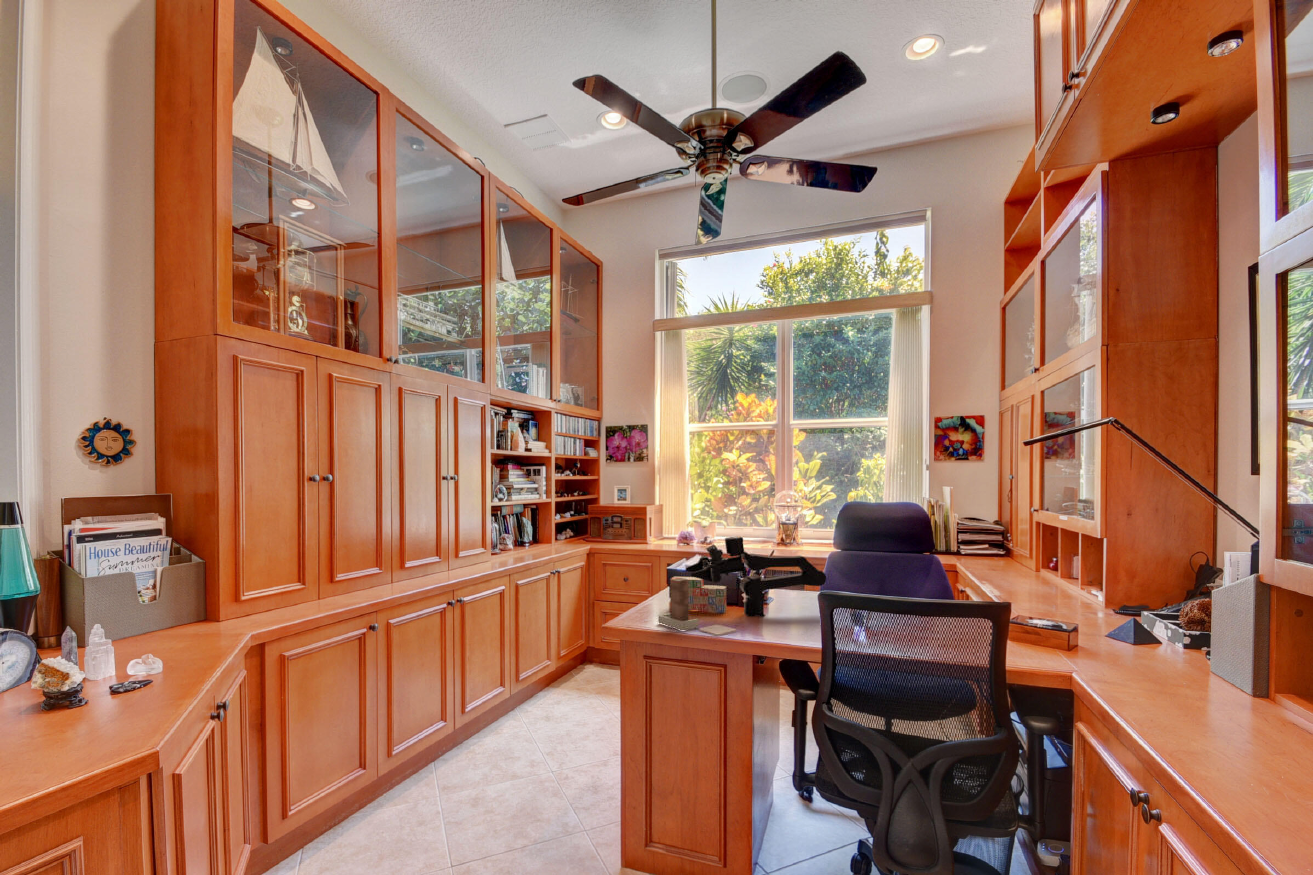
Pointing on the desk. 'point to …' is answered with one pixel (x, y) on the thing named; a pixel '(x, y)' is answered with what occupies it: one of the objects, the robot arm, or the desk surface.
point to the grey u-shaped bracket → (677, 622)
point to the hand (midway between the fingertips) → (688, 572)
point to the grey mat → (717, 630)
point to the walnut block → (679, 599)
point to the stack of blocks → (705, 596)
